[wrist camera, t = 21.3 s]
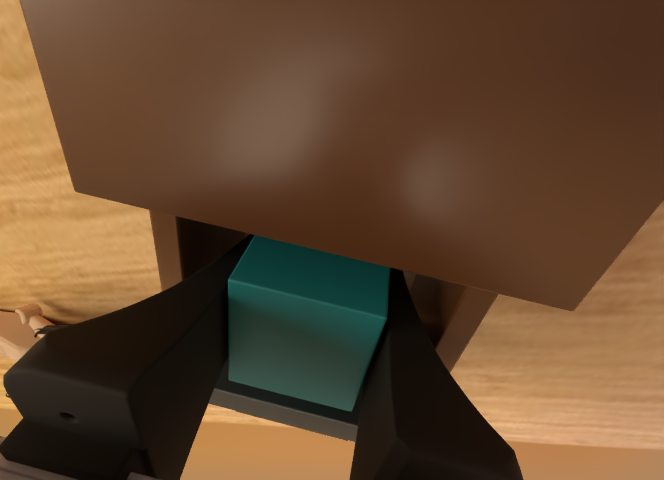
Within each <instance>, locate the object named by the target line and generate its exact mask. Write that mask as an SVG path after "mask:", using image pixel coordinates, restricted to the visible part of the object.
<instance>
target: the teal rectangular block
mask: <svg viewBox="0 0 664 480" xmlns="http://www.w3.org/2000/svg"><path fill="white" fill-rule="evenodd" d="M389 283H390V267H386V266H382V265H378V264H374V263H369V262H365V261H361V260H357V259H353V258H349V257H344V256H340V255H336V254H332V253H328V252H324V251H320V250H315V249H311V248H307V247H303V246H299V245H295V244H290V243H286V242H282V241H278V240H274V239H270V238H265V237H261V236H257V235H255V236H254V237H253V239H252V241H251V242H250V244H249V246H248V247H247V249H246V251H245V252H244V254H243V256H242V257H241V259H240V261H239V262H238V264H237V266H236V267H235V269H234V271H233V272H232V274H231V276H230V277H229V279H228V357H229V380H230V381H234V382H237V383H241V384H245V385H249V386H253V387H257V388H261V389H265V390H269V391H272V392H276V393H280V394H284V395H288V396H292V397H296V398H300V399H303V400H307V401H311V402H315V403H319V404H323V405H327V406H331V407H334V408H338V409H342V410H346V411H352V410H353V407H354V405H355V402H356V399H357V397H358V394H359V391H360V389H361V386H362V384H363V381H364V378H365V376H366V373H367V370H368V368H369V365H370V362H371V360H372V357H373V354H374V352H375V349H376V346H377V344H378V341H379V338H380V336H381V333H382V331H383V328H384V325H385V323H386V320H387V311H388V297H389Z"/></svg>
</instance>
